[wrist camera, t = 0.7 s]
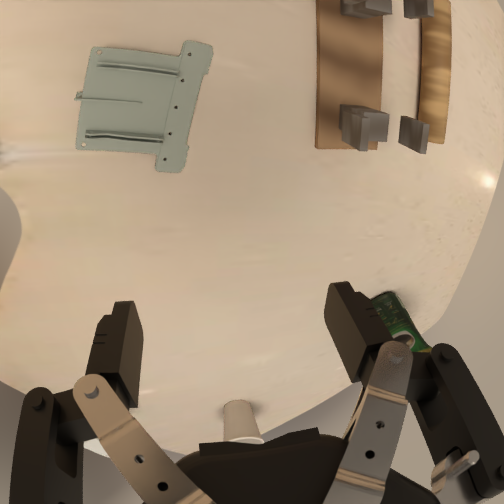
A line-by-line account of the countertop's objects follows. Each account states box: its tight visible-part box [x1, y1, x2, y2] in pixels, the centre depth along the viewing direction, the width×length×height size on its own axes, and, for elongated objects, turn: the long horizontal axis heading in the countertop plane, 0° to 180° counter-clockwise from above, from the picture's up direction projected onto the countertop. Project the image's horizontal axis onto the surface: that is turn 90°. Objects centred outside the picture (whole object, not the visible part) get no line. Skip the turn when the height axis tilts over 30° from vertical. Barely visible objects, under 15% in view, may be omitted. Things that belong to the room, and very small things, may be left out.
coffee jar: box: [371, 293, 432, 403], centre depth 46 cm, size 10×8×19 cm
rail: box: [418, 0, 452, 144], centre depth 30 cm, size 20×4×4 cm, turn 1°
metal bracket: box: [74, 41, 213, 173], centre depth 30 cm, size 14×6×15 cm
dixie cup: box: [224, 400, 264, 444], centre depth 59 cm, size 8×8×10 cm
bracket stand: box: [315, 0, 434, 154], centre depth 26 cm, size 22×8×11 cm, turn 1°
